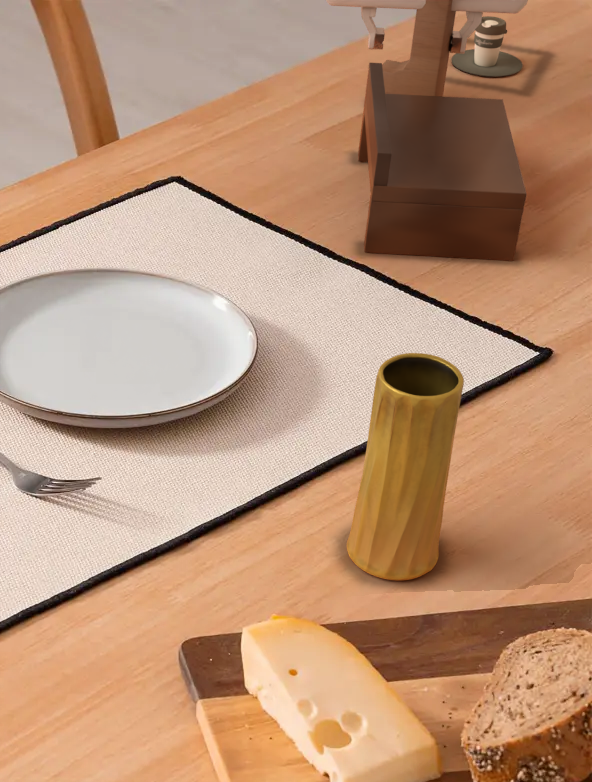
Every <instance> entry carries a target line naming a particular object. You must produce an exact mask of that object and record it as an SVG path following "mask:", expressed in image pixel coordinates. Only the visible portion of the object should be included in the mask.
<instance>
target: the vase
mask: <svg viewBox="0 0 592 782" xmlns="http://www.w3.org/2000/svg"><path fill="white" fill-rule="evenodd" d="M375 377H376V378H375V382H374V383H375V384H374V391H373V398H372V405H371V413H370V422H369V426H368V435H367V443H366V450H365V456H364V462H363V469H362V475H361V480H360V482H359V483H360V484H359V488H358V492H357V497H356V501H355V506H354V510H353V515H352V522H351V527H350V531H349V534H348V538H347V541H346V551H347V554H348V556H349V558H350V560H351V561H352V562H353V564H355V566H357V567H358V568H359V569H361V570H362V571H363V572H365V573H367V574H368V575H371V576H374V577H376V578H380V579H382V580H383V579H384V580H388V581H389V580H390V581H410V580H414V579H417V578H420V577H422V576H425V575H426V574H428V573H429V572H431V571H432V570H433V569H434V568H435V566H436V564H437V563H438V560H439V558H440V557H439V556H440V555H439V554H440V553H439V543H440V536H441V531H442V523H443V516H444V507H445V498H446V492H447V486H448V480H449V473H450V467H451V461H452V455H453V454H452V453H453V449H454V448H453V447H454V440H455V434H456V429H457V424H458V416H459V412H460V411H459V410H460V406H461V401H462V394H463V390H464V384H465V378H464V376H463V374H462V372H461V370H459V368H458V367H457V366H456V365H454V364H453V363H451V362H450V361H448V360H446V359H445V358H444V357H440V356H436V355H434V354H429V353H422V352H407V353H406V352H405V353H401V354H396V355H395V356H392V357H391V358H388V359H386V360H385V361H383V363H382V364H381V365H380V366H379V368H378V370H377V373H376V376H375Z"/></svg>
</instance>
